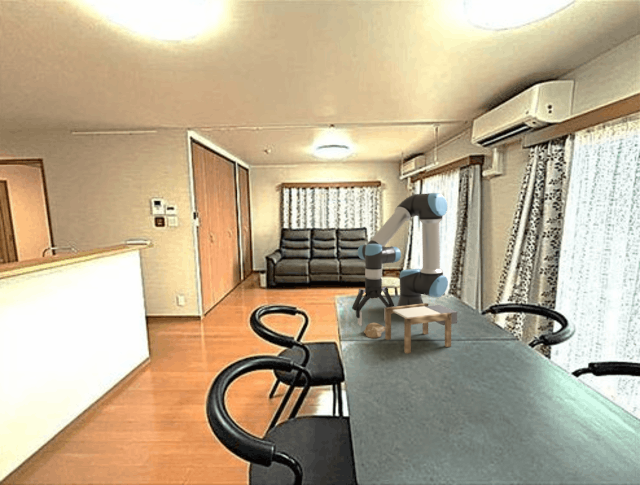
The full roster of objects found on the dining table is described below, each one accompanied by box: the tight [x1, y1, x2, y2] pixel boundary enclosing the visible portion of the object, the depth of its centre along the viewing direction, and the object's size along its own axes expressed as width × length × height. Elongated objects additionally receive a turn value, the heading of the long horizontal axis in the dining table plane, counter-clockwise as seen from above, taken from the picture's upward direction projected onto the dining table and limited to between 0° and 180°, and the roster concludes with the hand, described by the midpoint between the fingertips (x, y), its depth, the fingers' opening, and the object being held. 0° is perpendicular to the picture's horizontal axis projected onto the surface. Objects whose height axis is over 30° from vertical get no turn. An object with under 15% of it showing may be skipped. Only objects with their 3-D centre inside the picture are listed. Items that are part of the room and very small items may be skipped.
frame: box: [384, 302, 452, 354], centre depth 152 cm, size 21×18×14 cm
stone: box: [363, 322, 385, 339], centre depth 164 cm, size 8×10×4 cm
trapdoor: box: [393, 304, 458, 326], centre depth 153 cm, size 24×14×5 cm, turn 108°
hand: (373, 323), depth 164 cm, fingers open, 13 cm apart
